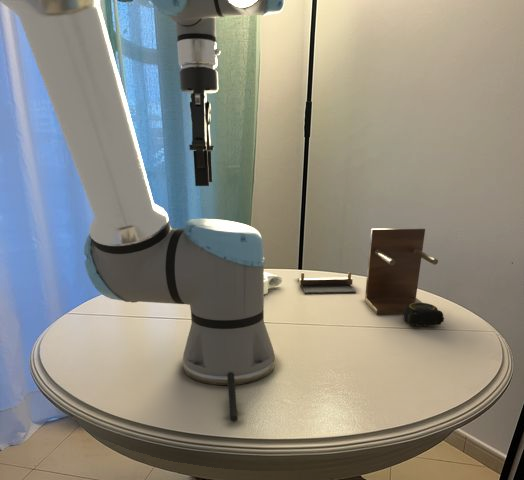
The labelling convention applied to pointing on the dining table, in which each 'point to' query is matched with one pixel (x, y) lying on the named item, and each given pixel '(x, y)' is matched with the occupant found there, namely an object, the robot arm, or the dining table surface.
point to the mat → (327, 289)
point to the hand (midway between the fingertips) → (204, 184)
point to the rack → (394, 268)
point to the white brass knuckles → (271, 281)
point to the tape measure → (422, 314)
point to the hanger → (325, 281)
